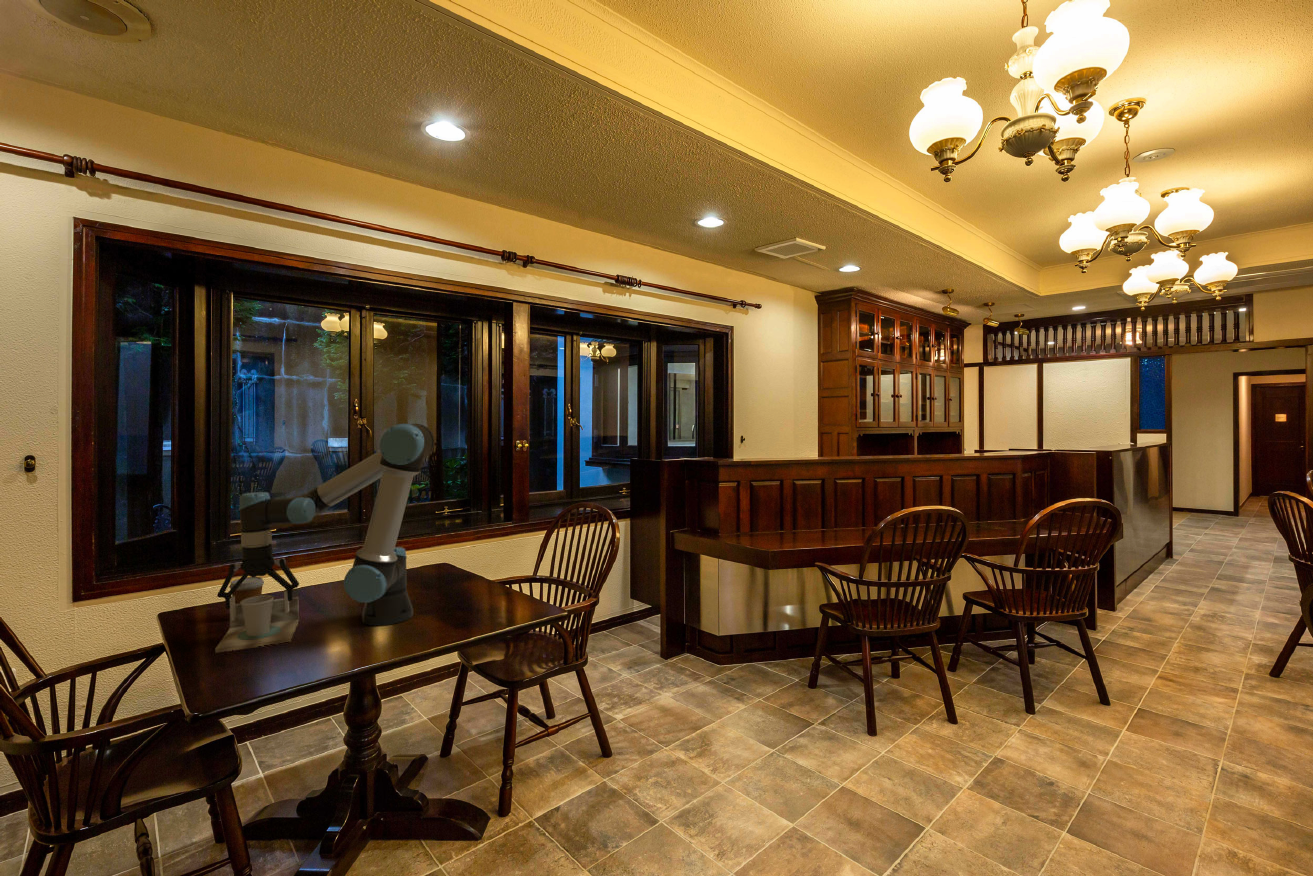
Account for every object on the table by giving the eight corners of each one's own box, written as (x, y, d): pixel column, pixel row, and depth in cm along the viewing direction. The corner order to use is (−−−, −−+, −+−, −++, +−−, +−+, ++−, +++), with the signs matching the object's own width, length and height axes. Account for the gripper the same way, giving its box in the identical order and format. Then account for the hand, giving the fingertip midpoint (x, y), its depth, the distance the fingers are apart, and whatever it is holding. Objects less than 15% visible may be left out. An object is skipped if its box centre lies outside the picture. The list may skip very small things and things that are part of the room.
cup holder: (298, 621, 193) (298, 597, 193) (290, 642, 175) (289, 615, 175) (231, 630, 185) (230, 604, 185) (215, 652, 168) (214, 624, 167)
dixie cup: (277, 632, 179) (276, 599, 179) (244, 640, 173) (243, 605, 173) (271, 625, 185) (270, 593, 185) (239, 632, 180) (237, 599, 179)
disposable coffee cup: (272, 613, 202) (271, 577, 201) (245, 622, 193) (244, 585, 192) (249, 610, 204) (248, 575, 204) (222, 619, 195) (221, 583, 195)
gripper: (306, 538, 187) (310, 605, 188) (209, 547, 177) (213, 618, 178) (303, 542, 180) (307, 612, 181) (202, 552, 170) (206, 626, 171)
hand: (260, 615), depth 179 cm, fingers open, 13 cm apart
